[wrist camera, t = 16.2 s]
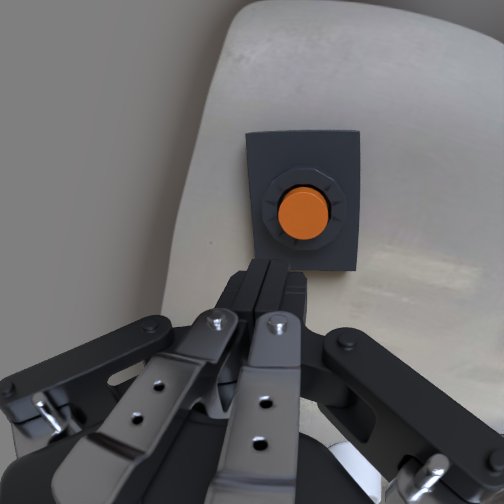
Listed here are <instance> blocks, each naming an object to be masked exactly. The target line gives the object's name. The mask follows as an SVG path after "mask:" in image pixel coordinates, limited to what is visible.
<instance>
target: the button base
mask: <svg viewBox="0 0 504 504" xmlns="http://www.w3.org/2000/svg"><path fill="white" fill-rule="evenodd" d="M245 135H246V148H247V160H248V173H249V185H250V198H251V210H252V223H253V236H254V248H255V259H270V260H272V259H275V260H290V265H291V270H319V271H356V263H357V250H358V233H359V211H360V131H356V130H288V131H265V132H251V133H246V134H245ZM299 187H308V188H312V189H314V190H316V191H318V192H319V193H320V194H321V195H322V196H323V197H324V199H325V201H326V203H327V208H328V221H327V225H326V227H325V229H324V230H323V231H322V232H321V233H320V234H319V235H318V236H316V237H314V238H311V239H305V240H303V239H297V238H294V237H292V236H290V235H288V234H287V233H286V232H285V231H284V230H283V228H282V227H281V225H280V222H279V218H278V212H279V208H280V205H281V203H282V201H283V199H284V197H285V196H286V195H287V194H288V193H289V192H290V191H291V190H293V189H296V188H299Z"/></svg>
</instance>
